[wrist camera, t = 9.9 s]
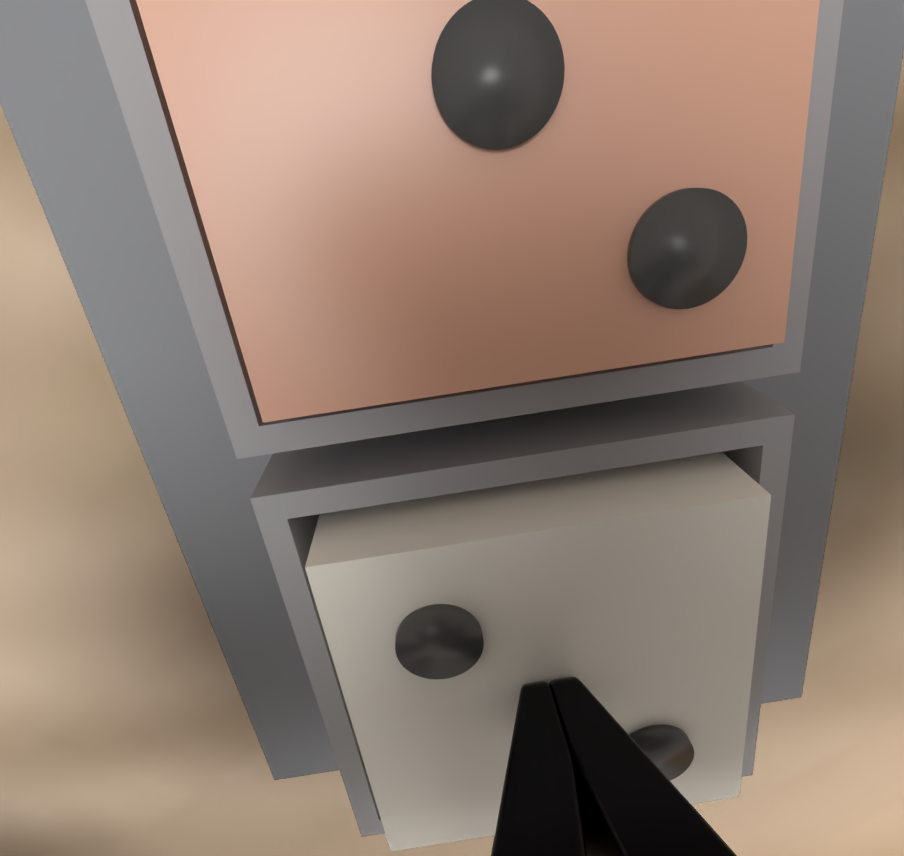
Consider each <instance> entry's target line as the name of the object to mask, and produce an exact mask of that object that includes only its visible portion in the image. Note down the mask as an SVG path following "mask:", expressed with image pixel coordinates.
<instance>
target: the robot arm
mask: <svg viewBox="0 0 904 856" xmlns="http://www.w3.org/2000/svg"><path fill="white" fill-rule="evenodd" d="M491 856H737V855H736V854H735V853H734V852H733V851H732V850H731V849H730V847H729V846H728V845H727V844H726V843H725V842H724V841H723V840H722V839H721V837H720V836H719V835H718V834H717V833H716V832H715V831H714V830H713V828H712V827H711V826H710V825H709V824H708V823H707V822H706V821H705V819H704V818H703V817H702V816H701V815H700V814H699V813H698V812H697V811H696V809H695V808H694V807H693V806H692V805H691V804H690V803H689V802H688V800H687V799H686V798H685V797H684V796H683V795H682V794H681V793H680V791H679V790H678V789H677V788H676V787H675V786H674V785H673V784H672V783H671V781H670V780H669V779H668V778H667V777H666V776H665V775H664V774H663V772H662V771H661V770H660V769H659V768H658V767H657V766H656V765H655V763H654V762H653V761H652V760H651V759H650V758H649V757H648V756H647V755H646V753H645V752H644V751H643V750H642V749H641V748H640V747H639V746H638V744H637V743H636V742H635V741H634V740H633V739H632V738H631V737H630V735H629V734H628V733H627V732H626V731H625V730H624V729H623V728H622V727H621V725H620V724H619V723H618V722H617V721H616V720H615V719H614V718H613V716H612V715H611V714H610V713H609V712H608V711H607V710H606V709H605V707H604V706H603V705H602V704H601V703H600V702H599V701H598V700H597V699H596V697H595V696H594V695H593V694H592V693H591V692H590V691H589V690H588V688H587V687H586V686H585V685H584V684H583V683H582V682H581V681H580V680H579V679H578V678H576V677H567V678H560V679H554V680H552V681H551V682H550V685H549V683H548V682H546V681H541V682H535V683H529V684H524V685H523V686H522V687H521V690H520V695H519V701H518V707H517V712H516V718H515V724H514V729H513V735H512V741H511V746H510V752H509V758H508V763H507V769H506V774H505V780H504V786H503V791H502V797H501V803H500V808H499V814H498V820H497V825H496V831H495V837H494V842H493V848H492V853H491Z"/></svg>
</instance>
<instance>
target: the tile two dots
mask: <svg viewBox="0 0 904 856" xmlns="http://www.w3.org/2000/svg"><path fill="white" fill-rule="evenodd" d="M770 503H771V494H770V493H768V492H767V491H766V490H765V489H764V488H763V487H761V486H760V485H759V484H758V483H757V482H756V481H755V480H753V479H752V478H751V477H750V476H749V475H748V474H747V473H745V472H744V471H743V470H742V469H741V468H740V467H739V466H737V465H736V464H735V463H734V462H733V461H732V460H731V459H729V458H728V457H727V456H726V455H725V454H724V453H723V452H717V453H710V454H704V455H697V456H691V457H684V458H678V459H672V460H665V461H659V462H652V463H646V464H639V465H633V466H626V467H620V468H613V469H607V470H601V471H594V472H588V473H581V474H575V475H568V476H562V477H555V478H549V479H542V480H536V481H530V482H523V483H517V484H510V485H504V486H497V487H491V488H484V489H478V490H471V491H465V492H459V493H452V494H446V495H439V496H433V497H426V498H420V499H413V500H407V501H401V502H394V503H388V504H381V505H375V506H368V507H362V508H355V509H349V510H342V511H336V512H330V513H323V514H319V518H318V521H317V525H316V529H315V532H314V536H313V540H312V543H311V547H310V551H309V554H308V558H307V562H306V565H305V570H306V573H307V576H308V580H309V583H310V586H311V590H312V593H313V596H314V599H315V603H316V606H317V609H318V613H319V616H320V619H321V623H322V626H323V629H324V633H325V636H326V639H327V642H328V646H329V649H330V652H331V656H332V659H333V662H334V666H335V669H336V672H337V676H338V679H339V682H340V685H341V689H342V692H343V695H344V699H345V702H346V705H347V709H348V712H349V715H350V719H351V722H352V725H353V729H354V732H355V735H356V738H357V742H358V745H359V748H360V752H361V755H362V758H363V762H364V765H365V768H366V772H367V775H368V778H369V781H370V785H371V788H372V791H373V795H374V798H375V801H376V805H377V808H378V811H379V815H380V818H381V821H382V825H383V828H384V831H385V834H386V838H387V841H388V844H389V848H390V851H391V852H392V851H399V850H405V849H411V848H418V847H424V846H430V845H437V844H443V843H449V842H456V841H462V840H468V839H475V838H481V837H487V836H494V835H495V831H496V825H497V820H498V814H499V808H500V803H501V797H502V791H503V786H504V780H505V774H506V769H507V763H508V758H509V752H510V746H511V741H512V735H513V729H514V724H515V718H516V712H517V707H518V701H519V695H520V690H521V687H522V686H523V685H524V684H529V683H535V682H541V681H546V682H548V683H549V685H550V682H551V681H552V680H554V679H560V678H567V677H576V678H578V679H579V680H580V681H581V682H582V683H583V684H584V685H585V686H586V687H587V688H588V690H589V691H590V692H591V693H592V694H593V695H594V696H595V697H596V699H597V700H598V701H599V702H600V703H601V704H602V705H603V706H604V707H605V709H606V710H607V711H608V712H609V713H610V714H611V715H612V716H613V718H614V719H615V720H616V721H617V722H618V723H619V724H620V725H621V727H622V728H623V729H624V730H625V731H626V732H627V733H628V734H629V735H630V737H631V738H632V739H633V740H634V741H635V742H636V743H637V744H638V746H639V747H640V748H641V749H642V750H643V751H644V752H645V753H646V755H647V756H648V757H649V758H650V759H651V760H652V761H653V762H654V763H655V765H656V766H657V767H658V768H659V769H660V770H661V771H662V772H663V774H664V775H665V776H666V777H667V778H668V779H669V780H670V781H671V783H672V784H673V785H674V786H675V787H676V788H677V789H678V790H679V791H680V793H681V794H682V795H683V796H684V797H685V798H686V799H687V800H688V802H689V803H690V804H696V803H702V802H709V801H715V800H721V799H728V798H734V797H739V794H740V785H741V776H742V766H743V757H744V747H745V738H746V729H747V719H748V710H749V700H750V691H751V682H752V672H753V663H754V653H755V644H756V634H757V625H758V616H759V606H760V597H761V587H762V578H763V569H764V559H765V550H766V540H767V531H768V522H769V512H770Z"/></svg>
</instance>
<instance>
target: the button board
mask: <svg viewBox="0 0 904 856" xmlns="http://www.w3.org/2000/svg"><path fill="white" fill-rule="evenodd" d="M903 51H904V0H820V4H819V13H818V23H817V33H816V42H815V52H814V62H813V71H812V81H811V90H810V100H809V110H808V119H807V129H806V139H805V148H804V158H803V167H802V177H801V187H800V196H799V206H798V216H797V225H796V235H795V244H794V254H793V264H792V273H791V283H790V293H789V302H788V312H787V321H786V331H785V341H784V342H783V343H776V344H770V345H763V346H757V347H750V348H744V349H737V350H731V351H725V352H718V353H712V354H705V355H699V356H692V357H686V358H679V359H673V360H666V361H660V362H653V363H647V364H640V365H634V366H627V367H621V368H614V369H608V370H601V371H595V372H588V373H582V374H575V375H569V376H562V377H556V378H549V379H543V380H536V381H530V382H523V383H517V384H510V385H504V386H497V387H491V388H484V389H478V390H471V391H465V392H458V393H452V394H446V395H439V396H433V397H426V398H420V399H413V400H407V401H400V402H394V403H387V404H381V405H374V406H368V407H361V408H355V409H348V410H342V411H335V412H329V413H322V414H316V415H309V416H303V417H296V418H290V419H283V420H277V421H270V422H264V423H263V421H262V418H261V415H260V411H259V408H258V405H257V401H256V398H255V395H254V391H253V388H252V385H251V381H250V378H249V375H248V371H247V368H246V365H245V361H244V358H243V355H242V351H241V348H240V345H239V341H238V338H237V335H236V331H235V328H234V325H233V321H232V318H231V315H230V311H229V308H228V305H227V302H226V298H225V295H224V292H223V288H222V285H221V282H220V278H219V275H218V272H217V268H216V265H215V262H214V258H213V255H212V252H211V248H210V245H209V242H208V238H207V235H206V232H205V228H204V225H203V222H202V218H201V215H200V212H199V208H198V205H197V202H196V198H195V195H194V192H193V188H192V185H191V182H190V178H189V175H188V172H187V168H186V165H185V162H184V158H183V155H182V152H181V149H180V145H179V142H178V139H177V135H176V132H175V129H174V125H173V122H172V119H171V115H170V112H169V109H168V105H167V102H166V99H165V95H164V92H163V89H162V85H161V82H160V79H159V75H158V72H157V69H156V65H155V62H154V59H153V55H152V52H151V49H150V45H149V42H148V39H147V35H146V32H145V29H144V25H143V22H142V19H141V15H140V12H139V9H138V5H137V2H136V0H0V104H1V107H2V109H3V112H4V114H5V117H6V119H7V122H8V124H9V126H10V129H11V131H12V134H13V136H14V139H15V141H16V144H17V146H18V149H19V151H20V154H21V156H22V159H23V161H24V163H25V166H26V168H27V171H28V173H29V176H30V178H31V181H32V183H33V186H34V188H35V191H36V193H37V195H38V198H39V200H40V203H41V205H42V208H43V210H44V213H45V215H46V218H47V220H48V223H49V225H50V228H51V230H52V232H53V235H54V237H55V240H56V242H57V245H58V247H59V250H60V252H61V255H62V257H63V260H64V262H65V265H66V267H67V269H68V272H69V274H70V277H71V279H72V282H73V284H74V287H75V289H76V292H77V294H78V297H79V299H80V301H81V304H82V306H83V309H84V311H85V314H86V316H87V319H88V321H89V324H90V326H91V329H92V331H93V334H94V336H95V338H96V341H97V343H98V346H99V348H100V351H101V353H102V356H103V358H104V361H105V363H106V366H107V368H108V370H109V373H110V375H111V378H112V380H113V383H114V385H115V388H116V390H117V393H118V395H119V398H120V400H121V403H122V405H123V407H124V410H125V412H126V415H127V417H128V420H129V422H130V425H131V427H132V430H133V432H134V435H135V437H136V440H137V442H138V444H139V447H140V449H141V452H142V454H143V457H144V459H145V462H146V464H147V467H148V469H149V472H150V474H151V476H152V479H153V481H154V484H155V486H156V489H157V491H158V494H159V496H160V499H161V501H162V504H163V506H164V509H165V511H166V513H167V516H168V518H169V521H170V523H171V526H172V528H173V531H174V533H175V536H176V538H177V541H178V543H179V545H180V548H181V550H182V553H183V555H184V558H185V560H186V563H187V565H188V568H189V570H190V573H191V575H192V578H193V580H194V582H195V585H196V587H197V590H198V592H199V595H200V597H201V600H202V602H203V605H204V607H205V610H206V612H207V614H208V617H209V619H210V622H211V624H212V627H213V629H214V632H215V634H216V637H217V639H218V642H219V644H220V647H221V649H222V651H223V654H224V656H225V659H226V661H227V664H228V666H229V669H230V671H231V674H232V676H233V679H234V681H235V684H236V686H237V688H238V691H239V693H240V696H241V698H242V701H243V703H244V706H245V708H246V711H247V713H248V716H249V718H250V720H251V723H252V725H253V728H254V730H255V733H256V735H257V738H258V740H259V743H260V745H261V748H262V750H263V753H264V755H265V757H266V760H267V762H268V765H269V767H270V770H271V772H272V775H273V777H274V780H279V779H285V778H291V777H298V776H304V775H310V774H317V773H323V772H329V771H336V770H340V772H341V775H342V778H343V781H344V784H345V788H346V791H347V794H348V797H349V800H350V803H351V806H352V809H353V812H354V815H355V818H356V821H357V824H358V827H359V830H360V833H361V836H362V837H363V836H369V835H376V834H382V833H385V831H384V828H383V825H382V821H381V818H380V815H379V811H378V808H377V805H376V801H375V798H374V795H373V791H372V788H371V785H370V781H369V778H368V775H367V772H366V768H365V765H364V762H363V758H362V755H361V752H360V748H359V745H358V742H357V738H356V735H355V732H354V729H353V725H352V722H351V719H350V715H349V712H348V709H347V705H346V702H345V699H344V695H343V692H342V689H341V685H340V682H339V679H338V676H337V672H336V669H335V666H334V662H333V659H332V656H331V652H330V649H329V646H328V642H327V639H326V636H325V633H324V629H323V626H322V623H321V619H320V616H319V613H318V609H317V606H316V603H315V599H314V596H313V593H312V590H311V586H310V583H309V580H308V576H307V573H306V570H305V565H306V562H307V558H308V554H309V551H310V547H311V543H312V540H313V536H314V532H315V529H316V525H317V521H318V518H319V514H323V513H330V512H336V511H342V510H349V509H355V508H362V507H368V506H375V505H381V504H388V503H394V502H401V501H407V500H413V499H420V498H426V497H433V496H439V495H446V494H452V493H459V492H465V491H471V490H478V489H484V488H491V487H497V486H504V485H510V484H517V483H523V482H530V481H536V480H542V479H549V478H555V477H562V476H568V475H575V474H581V473H588V472H594V471H601V470H607V469H613V468H620V467H626V466H633V465H639V464H646V463H652V462H659V461H665V460H672V459H678V458H684V457H691V456H697V455H704V454H710V453H717V452H723V453H724V454H725V455H726V456H727V457H728V458H729V459H731V460H732V461H733V462H734V463H735V464H736V465H737V466H739V467H740V468H741V469H742V470H743V471H744V472H745V473H747V474H748V475H749V476H750V477H751V478H752V479H753V480H755V481H756V482H757V483H758V484H759V485H760V486H761V487H763V488H764V489H765V490H766V491H767V492H768V493H770V494H771V503H770V512H769V522H768V531H767V540H766V550H765V559H764V569H763V578H762V587H761V597H760V606H759V616H758V625H757V634H756V644H755V653H754V663H753V672H752V682H751V691H750V700H749V710H748V719H747V729H746V738H745V747H744V757H743V766H742V776H741V777H743V776H749V775H752V774H753V766H754V757H755V749H756V740H757V732H758V723H759V715H760V706H761V704H762V703H768V702H775V701H781V700H787V699H794V698H800V697H801V696H802V690H803V684H804V677H805V671H806V665H807V658H808V652H809V646H810V639H811V633H812V627H813V620H814V614H815V608H816V602H817V595H818V589H819V583H820V576H821V570H822V564H823V557H824V551H825V545H826V538H827V532H828V526H829V519H830V513H831V507H832V500H833V494H834V488H835V481H836V475H837V469H838V462H839V456H840V450H841V443H842V437H843V431H844V424H845V418H846V412H847V405H848V399H849V393H850V386H851V380H852V374H853V367H854V361H855V355H856V349H857V342H858V336H859V330H860V323H861V317H862V311H863V304H864V298H865V292H866V285H867V279H868V273H869V266H870V260H871V254H872V247H873V241H874V235H875V228H876V222H877V216H878V209H879V203H880V197H881V190H882V184H883V178H884V171H885V165H886V159H887V152H888V146H889V140H890V133H891V127H892V121H893V115H894V108H895V102H896V96H897V89H898V83H899V77H900V70H901V64H902V58H903Z"/></svg>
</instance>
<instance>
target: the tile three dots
mask: <svg viewBox="0 0 904 856" xmlns="http://www.w3.org/2000/svg"><path fill="white" fill-rule="evenodd" d="M136 2H137V5H138V9H139V12H140V15H141V19H142V22H143V25H144V29H145V32H146V35H147V39H148V42H149V45H150V49H151V52H152V55H153V59H154V62H155V65H156V69H157V72H158V75H159V79H160V82H161V85H162V89H163V92H164V95H165V99H166V102H167V105H168V109H169V112H170V115H171V119H172V122H173V125H174V129H175V132H176V135H177V139H178V142H179V145H180V149H181V152H182V155H183V158H184V162H185V165H186V168H187V172H188V175H189V178H190V182H191V185H192V188H193V192H194V195H195V198H196V202H197V205H198V208H199V212H200V215H201V218H202V222H203V225H204V228H205V232H206V235H207V238H208V242H209V245H210V248H211V252H212V255H213V258H214V262H215V265H216V268H217V272H218V275H219V278H220V282H221V285H222V288H223V292H224V295H225V298H226V302H227V305H228V308H229V311H230V315H231V318H232V321H233V325H234V328H235V331H236V335H237V338H238V341H239V345H240V348H241V351H242V355H243V358H244V361H245V365H246V368H247V371H248V375H249V378H250V381H251V385H252V388H253V391H254V395H255V398H256V401H257V405H258V408H259V411H260V415H261V418H262V421H263V423H264V422H270V421H277V420H283V419H290V418H296V417H303V416H309V415H316V414H322V413H329V412H335V411H342V410H348V409H355V408H361V407H368V406H374V405H381V404H387V403H394V402H400V401H407V400H413V399H420V398H426V397H433V396H439V395H446V394H452V393H458V392H465V391H471V390H478V389H484V388H491V387H497V386H504V385H510V384H517V383H523V382H530V381H536V380H543V379H549V378H556V377H562V376H569V375H575V374H582V373H588V372H595V371H601V370H608V369H614V368H621V367H627V366H634V365H640V364H647V363H653V362H660V361H666V360H673V359H679V358H686V357H692V356H699V355H705V354H712V353H718V352H725V351H731V350H737V349H744V348H750V347H757V346H763V345H770V344H776V343H783V342H784V341H785V331H786V321H787V312H788V302H789V293H790V283H791V273H792V264H793V254H794V244H795V235H796V225H797V216H798V206H799V196H800V187H801V177H802V167H803V158H804V148H805V139H806V129H807V119H808V110H809V100H810V90H811V81H812V71H813V62H814V52H815V42H816V33H817V23H818V13H819V4H820V0H136Z"/></svg>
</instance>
